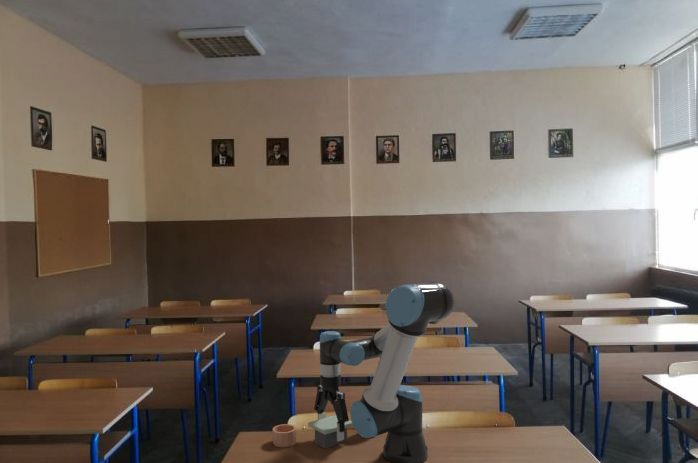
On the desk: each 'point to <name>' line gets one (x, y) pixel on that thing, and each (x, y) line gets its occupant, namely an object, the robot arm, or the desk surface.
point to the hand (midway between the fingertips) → (331, 435)
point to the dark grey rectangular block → (328, 439)
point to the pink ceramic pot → (284, 435)
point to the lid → (327, 424)
